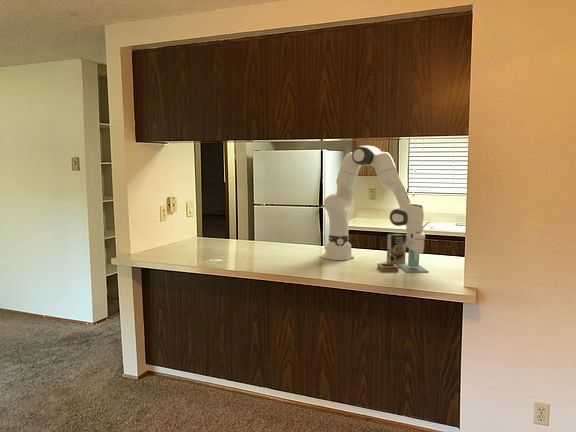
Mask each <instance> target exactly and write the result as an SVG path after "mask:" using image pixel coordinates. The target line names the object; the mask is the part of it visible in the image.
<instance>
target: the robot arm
mask: <svg viewBox="0 0 576 432" xmlns="http://www.w3.org/2000/svg"><path fill="white" fill-rule="evenodd" d="M362 166H368V167H369V166H372V167H373V168H374V170H375V173H376V177H377V180H378V182H379V183H380V186H382V187H383V188H384V189H387V190H389V191H390V192H392V194H393V195H394V196H395V199H396V201H397V203H398V206H399V207H398V208H394V209H393V210H391V212H390V214H389V221H390V223H391V224H392V225H393V226H397V227H400V226H401V227H402V226H405V235H406V249H409V250H408V251H413V252H414V256H413V259H414V260H417V257H418V254H419V255H420V254H423V253H424V250H425V249H424V248H425V239H426V234H425V232H424V225H423V223H424V221H425V220H424V219H425V217H424V216H425V215H424V213H425V212H424V207H423V205H422V204H420V203H417V202H411V201H410V199H409V196H408V193H407V191H406V189H405V186H404V184H403V182H402V181H401V178H400V176H399V174H398V173H399V172H398V170H397V168H396V164H395V162H394V160H393V157H392V155H391V154H390V153H389V152H387V151H386V152H385V151H382V150H381V149H380V148H378V146H373V145H360V146H357V147H356V148H354V149H353V151H352V152H348V153H346V155H345V156H344V158H343V160H342V162H341V164H340V167H339V171H338V173H337V177H336V182H335V183H336V185H337V186H336V192H335V193H332V194H330V195H328V196H327V197H326V198H325V199H324V201H323V207H324V210H326V213H327V216H328V222H329V234H328V242H327V244H326V245H324V250H325V251H324V253H323V255H322V259H327V260H333V261H348V260H351V259H354V258H355V255H353V254H352V244H351V243H350V242H349V240H350V235H349V221H348V219H347V217H346V213H345V212H347V211H349V210H350V209H352V208H353V206H354V205H355V198H354V190H355V185H356V182H357V179H358V176H359V172H360V170H361V168H362Z"/></svg>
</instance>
